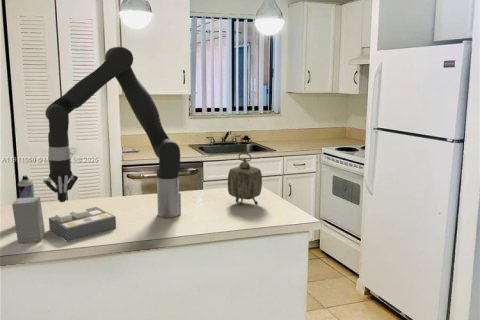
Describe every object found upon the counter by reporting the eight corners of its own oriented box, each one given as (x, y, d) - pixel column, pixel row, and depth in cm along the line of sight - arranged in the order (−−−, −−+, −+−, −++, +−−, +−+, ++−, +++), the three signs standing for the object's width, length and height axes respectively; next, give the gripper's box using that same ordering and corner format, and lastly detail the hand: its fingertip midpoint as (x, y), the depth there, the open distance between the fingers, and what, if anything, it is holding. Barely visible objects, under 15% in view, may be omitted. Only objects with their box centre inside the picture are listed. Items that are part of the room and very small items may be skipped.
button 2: (98, 216, 183) (97, 209, 183) (103, 219, 180) (102, 212, 180) (88, 219, 180) (87, 212, 180) (93, 221, 177) (92, 214, 176)
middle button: (82, 215, 178) (82, 208, 178) (88, 218, 175) (87, 211, 175) (72, 217, 175) (71, 210, 175) (77, 220, 172) (76, 213, 172)
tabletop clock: (261, 204, 209) (262, 153, 203) (251, 209, 201) (252, 156, 196) (235, 199, 216) (236, 149, 211) (225, 203, 209) (226, 152, 204)
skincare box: (45, 235, 168) (42, 195, 164) (40, 243, 161) (36, 201, 157) (21, 236, 166) (18, 196, 163) (15, 244, 160) (11, 202, 156)
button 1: (67, 219, 174) (66, 211, 173) (72, 222, 171) (71, 214, 170) (56, 221, 171) (55, 214, 170) (61, 224, 168) (60, 217, 167)
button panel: (96, 217, 187) (96, 206, 186) (116, 228, 176) (115, 215, 175) (49, 229, 173) (48, 217, 172) (67, 241, 162) (66, 228, 161)
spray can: (25, 220, 183) (20, 174, 178) (38, 220, 183) (34, 174, 179) (19, 225, 177) (15, 177, 173) (33, 225, 178) (29, 177, 173)
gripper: (45, 161, 158) (49, 207, 162) (81, 157, 167) (83, 200, 171) (37, 158, 163) (40, 202, 167) (72, 153, 172) (74, 196, 176)
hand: (62, 201), depth 169 cm, fingers closed
